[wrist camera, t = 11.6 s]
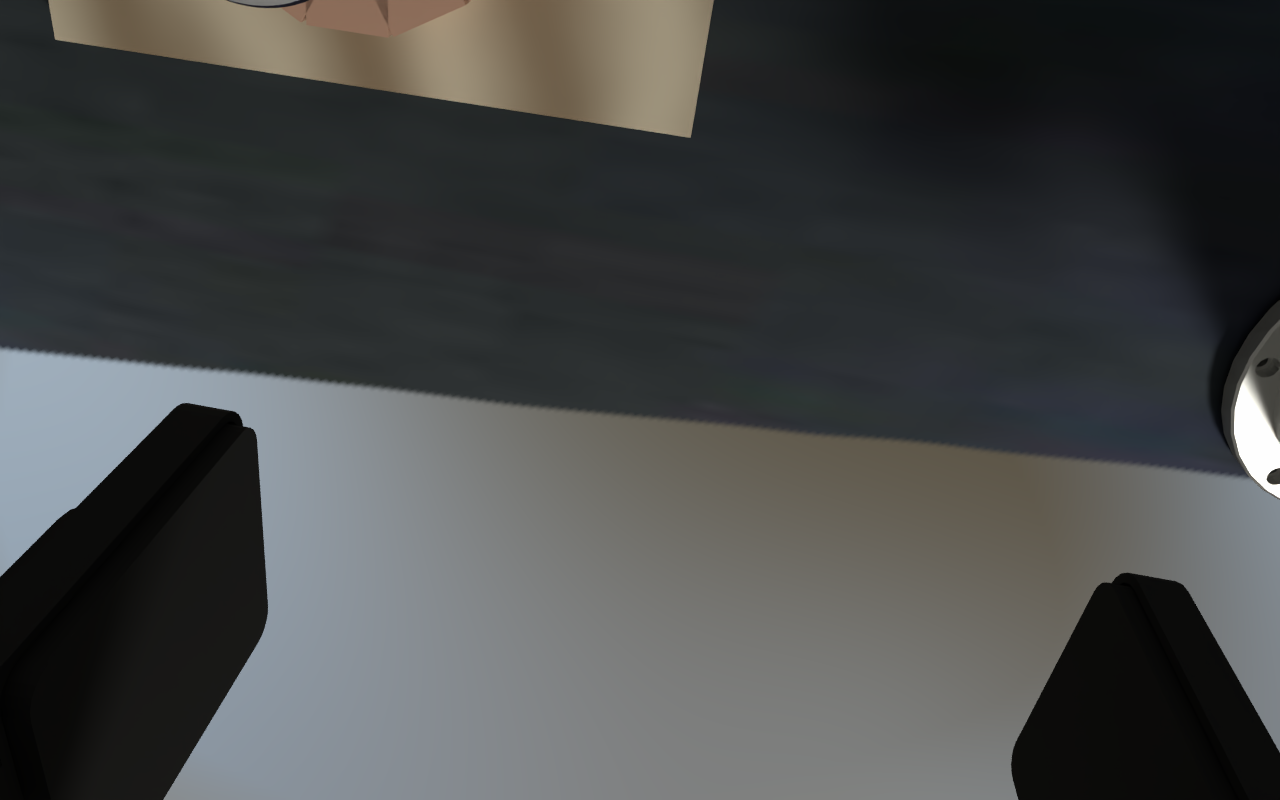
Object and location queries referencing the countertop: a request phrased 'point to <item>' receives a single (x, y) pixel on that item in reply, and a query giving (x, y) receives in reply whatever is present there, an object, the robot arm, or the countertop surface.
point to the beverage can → (268, 3)
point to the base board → (445, 52)
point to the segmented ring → (372, 14)
